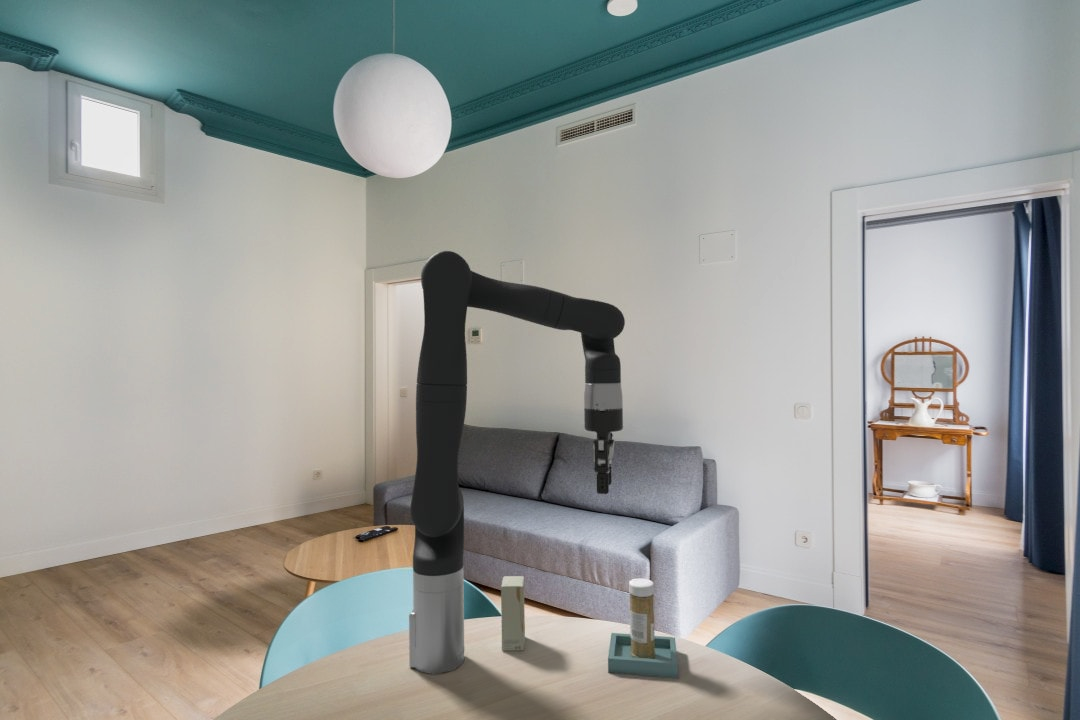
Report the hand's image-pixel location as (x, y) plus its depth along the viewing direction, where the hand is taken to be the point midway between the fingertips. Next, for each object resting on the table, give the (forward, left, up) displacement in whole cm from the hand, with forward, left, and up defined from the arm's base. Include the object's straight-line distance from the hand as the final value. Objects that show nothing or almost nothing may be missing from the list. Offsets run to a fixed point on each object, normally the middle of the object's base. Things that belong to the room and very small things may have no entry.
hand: (604, 488), depth 113 cm
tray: (+7, -6, -30) cm, 31 cm away
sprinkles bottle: (+7, -6, -29) cm, 31 cm away
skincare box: (-18, -3, -30) cm, 35 cm away
